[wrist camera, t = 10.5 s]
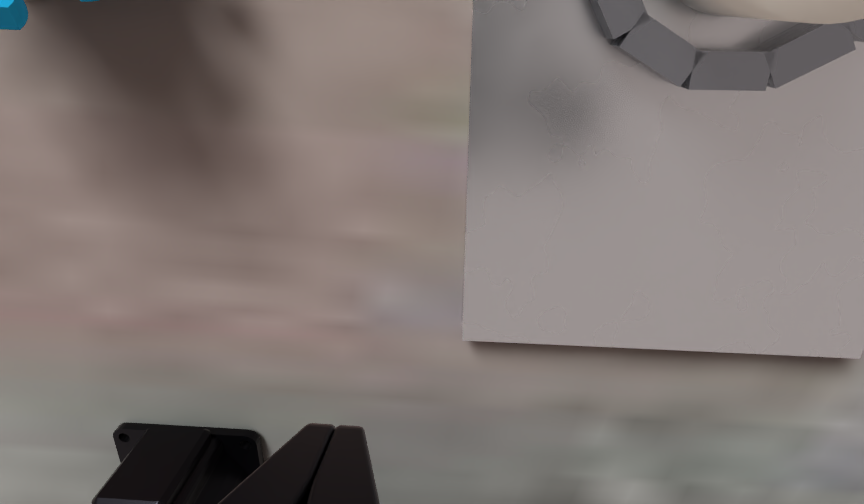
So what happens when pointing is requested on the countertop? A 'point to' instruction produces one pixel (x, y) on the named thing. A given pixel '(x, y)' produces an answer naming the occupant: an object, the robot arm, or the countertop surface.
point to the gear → (15, 14)
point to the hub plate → (664, 179)
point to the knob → (784, 9)
